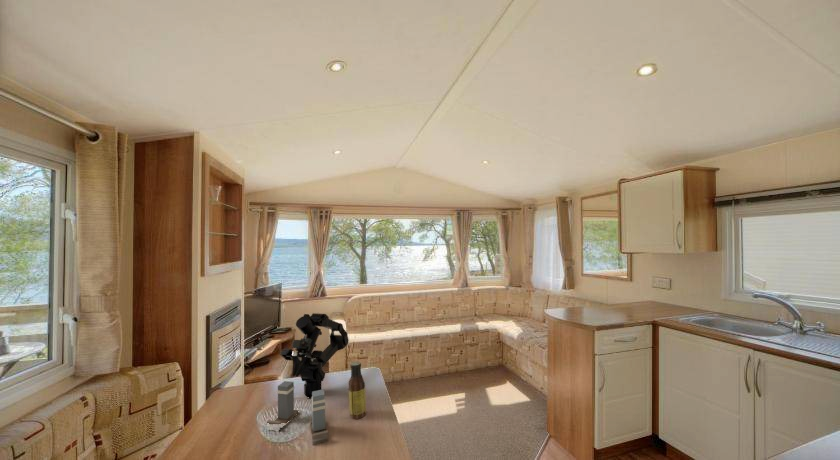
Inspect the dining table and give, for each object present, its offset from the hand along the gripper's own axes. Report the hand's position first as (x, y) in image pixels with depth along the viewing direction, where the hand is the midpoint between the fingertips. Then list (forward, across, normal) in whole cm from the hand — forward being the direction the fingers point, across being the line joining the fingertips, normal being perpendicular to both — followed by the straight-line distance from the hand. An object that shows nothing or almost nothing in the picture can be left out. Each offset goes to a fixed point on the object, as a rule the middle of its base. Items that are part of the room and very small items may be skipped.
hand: (294, 376), depth 122 cm
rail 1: (+15, 0, +5) cm, 15 cm away
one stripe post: (+13, 0, +5) cm, 14 cm away
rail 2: (+17, +17, +2) cm, 25 cm away
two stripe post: (+16, +16, +2) cm, 23 cm away
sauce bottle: (+9, +26, +11) cm, 30 cm away
